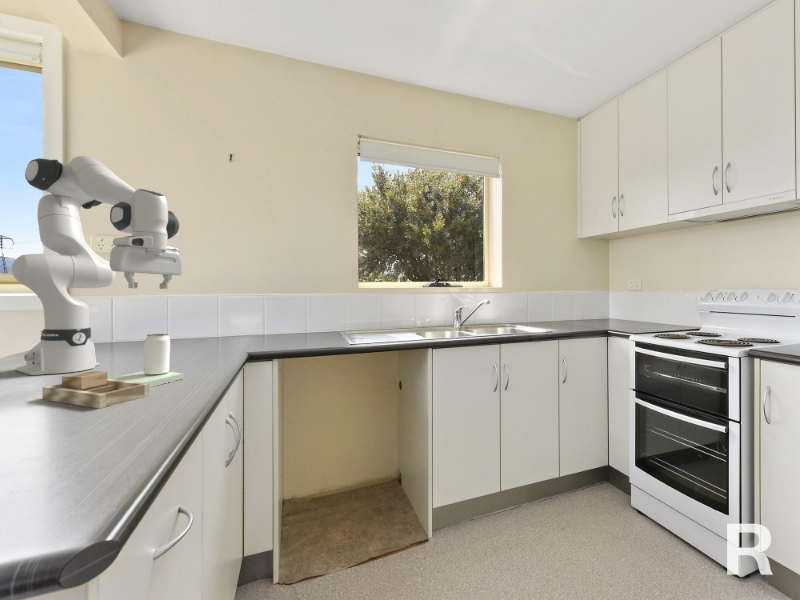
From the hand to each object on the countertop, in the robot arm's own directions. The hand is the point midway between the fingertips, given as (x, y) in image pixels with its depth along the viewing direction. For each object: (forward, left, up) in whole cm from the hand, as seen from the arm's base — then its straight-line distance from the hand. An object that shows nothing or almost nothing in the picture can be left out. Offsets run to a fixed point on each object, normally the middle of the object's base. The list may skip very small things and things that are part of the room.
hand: (148, 288), depth 106 cm
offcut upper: (+2, -18, -26) cm, 31 cm away
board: (+2, -2, -28) cm, 28 cm away
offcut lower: (+2, -18, -29) cm, 33 cm away
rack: (+6, -17, -28) cm, 34 cm away
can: (+2, +1, -26) cm, 26 cm away
